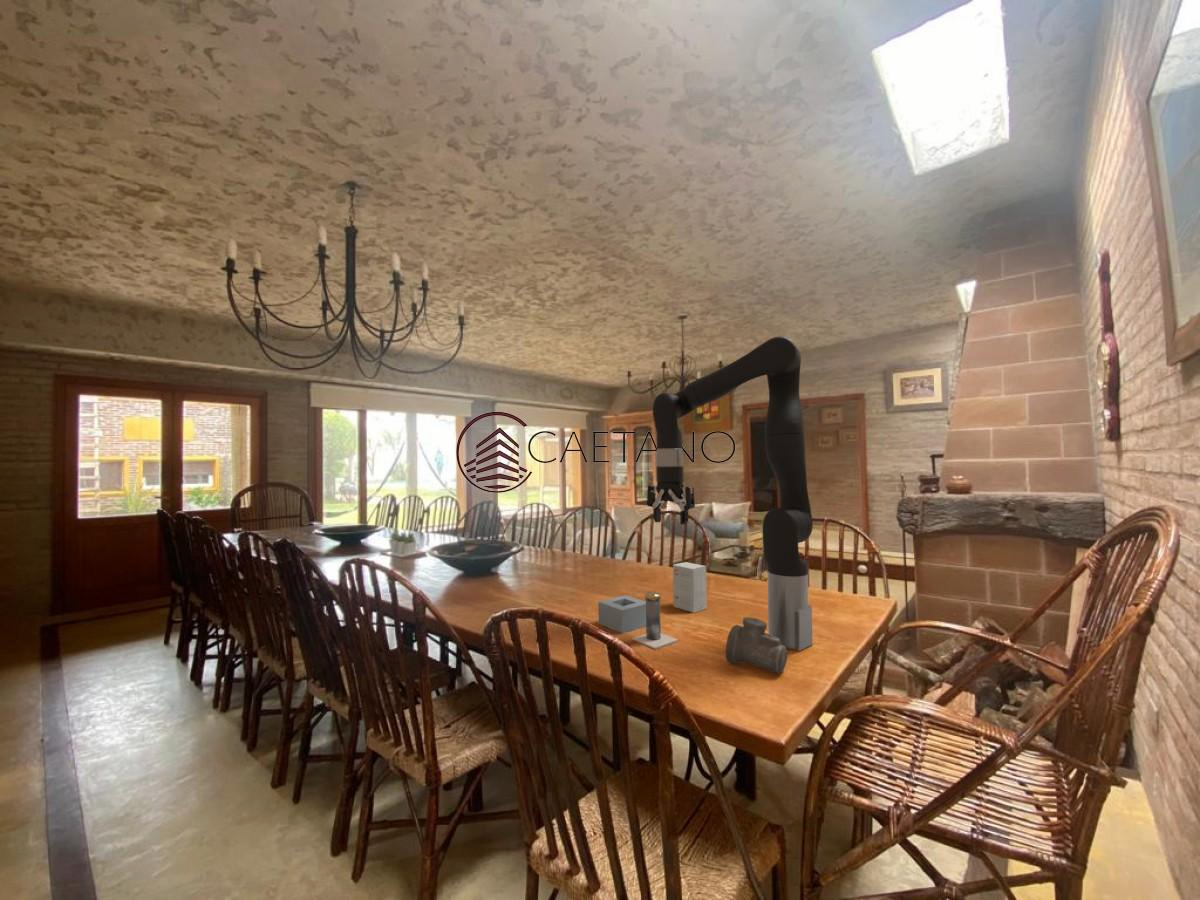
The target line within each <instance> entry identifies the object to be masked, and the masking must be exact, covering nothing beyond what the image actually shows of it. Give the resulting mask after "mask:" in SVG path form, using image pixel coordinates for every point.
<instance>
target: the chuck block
mask: <svg viewBox="0 0 1200 900" xmlns="http://www.w3.org/2000/svg"><path fill="white" fill-rule="evenodd" d="M597 610H598V624H599V625H601V626H603V627H605V628H608V629H611V630H613V631H615V632H618V633H620V634H626V633H628V632H632V631H635V630H638V629H642V628H644V627H645V628H646V600H641V599H638V598H635V597H633V596H630V595H621V596H615V597H613V598H608V599H604V600H601V601H598V609H597Z"/></svg>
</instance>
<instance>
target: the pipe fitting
mask: <svg viewBox="0 0 1200 900" xmlns="http://www.w3.org/2000/svg"><path fill="white" fill-rule="evenodd" d="M767 626H768V624H767V622H765V621H764V620H762V619H759V618H756V617H750V616H747V617H743V619H742V626H741V625H739V624H735V625H733V626H732V627H731V629H730V631H729V633H728V635H727V640H726V644H725V651H724V652H725V653H724V654H725V659H726V661H727V662H730V663H732V664H734V665H736V664H740V663H743V662H744V663H748V664H750V665H752V666H756V667H758V668H760V669H764V670H766V671H769V672H772V673H774V674H777V675H779V674H781V673H782V672H783V671H785V670H784V669H785V667H786V664H787V661H788V649H787V648H785V646H784V645H781V644H780V640H779V638H778V637H776V636H774V635H770V634H769V633H767V632H766V630H767Z"/></svg>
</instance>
